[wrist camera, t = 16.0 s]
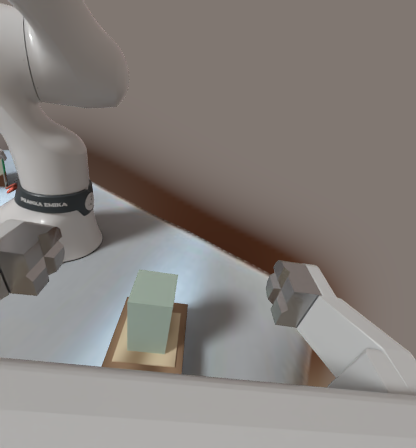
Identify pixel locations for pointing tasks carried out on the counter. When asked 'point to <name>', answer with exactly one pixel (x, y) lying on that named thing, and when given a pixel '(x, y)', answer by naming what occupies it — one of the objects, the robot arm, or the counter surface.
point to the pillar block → (150, 311)
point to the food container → (3, 170)
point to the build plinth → (144, 360)
